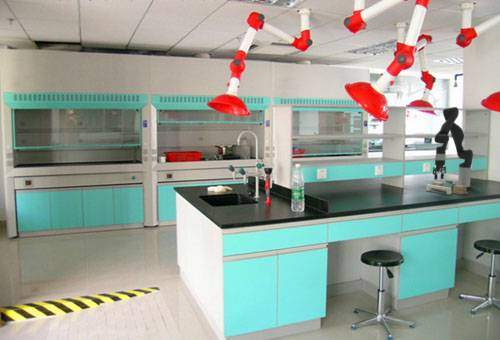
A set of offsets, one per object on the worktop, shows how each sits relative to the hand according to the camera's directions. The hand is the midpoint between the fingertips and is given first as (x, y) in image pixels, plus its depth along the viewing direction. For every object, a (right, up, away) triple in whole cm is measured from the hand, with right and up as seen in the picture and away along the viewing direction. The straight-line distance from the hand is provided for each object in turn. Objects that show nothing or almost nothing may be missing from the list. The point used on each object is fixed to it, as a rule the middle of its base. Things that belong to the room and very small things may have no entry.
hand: (438, 179), depth 345 cm
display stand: (+11, -10, +6) cm, 16 cm away
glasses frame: (0, -11, +1) cm, 11 cm away
